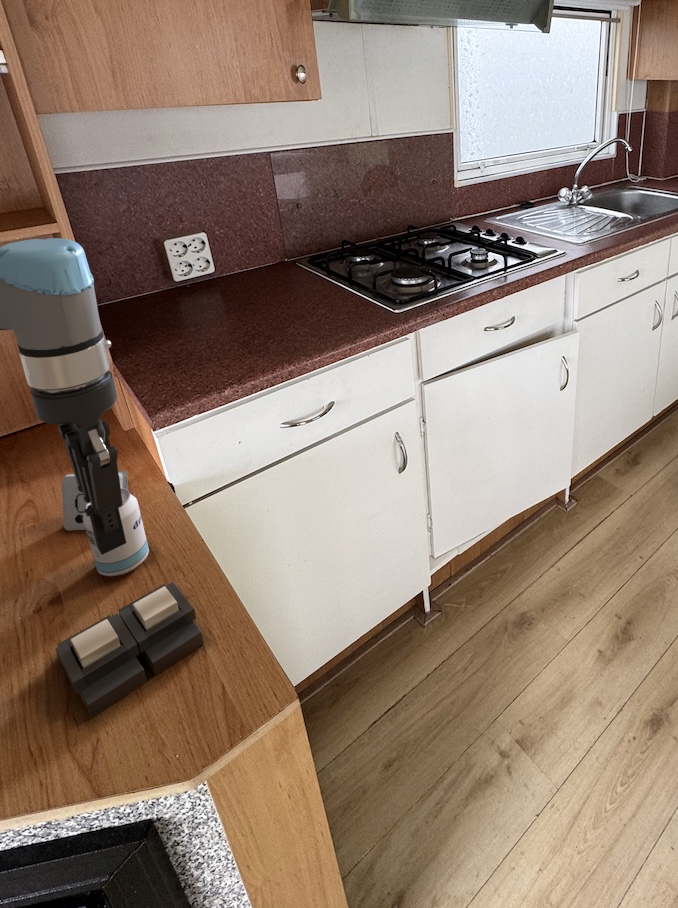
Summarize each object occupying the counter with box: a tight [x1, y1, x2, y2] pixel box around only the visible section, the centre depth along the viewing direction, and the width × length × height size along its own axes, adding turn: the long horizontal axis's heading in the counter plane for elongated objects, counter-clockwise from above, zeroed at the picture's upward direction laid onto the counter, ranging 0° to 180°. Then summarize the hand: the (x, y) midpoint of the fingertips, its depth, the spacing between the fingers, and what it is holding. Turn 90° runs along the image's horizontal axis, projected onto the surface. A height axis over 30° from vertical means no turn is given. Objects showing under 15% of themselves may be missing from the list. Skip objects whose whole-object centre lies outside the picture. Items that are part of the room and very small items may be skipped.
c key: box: [71, 619, 120, 669], centre depth 72 cm, size 4×4×2 cm
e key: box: [133, 586, 179, 630], centre depth 77 cm, size 4×4×2 cm
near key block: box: [55, 612, 147, 719], centre depth 73 cm, size 12×7×4 cm, turn 50°
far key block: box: [118, 581, 205, 676], centre depth 78 cm, size 12×7×4 cm, turn 50°
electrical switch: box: [61, 470, 129, 531], centre depth 98 cm, size 9×5×9 cm, turn 95°
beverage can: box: [83, 488, 150, 577], centre depth 88 cm, size 7×7×12 cm
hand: (112, 545), depth 72 cm, fingers closed
